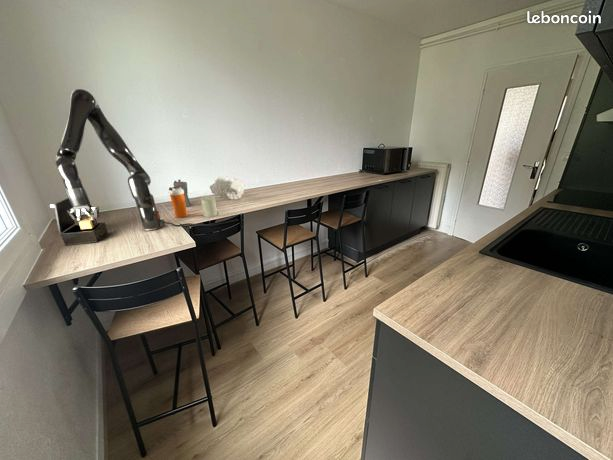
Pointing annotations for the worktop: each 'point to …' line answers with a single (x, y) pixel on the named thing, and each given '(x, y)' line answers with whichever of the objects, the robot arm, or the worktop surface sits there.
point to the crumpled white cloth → (227, 187)
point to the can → (209, 206)
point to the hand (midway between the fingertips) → (89, 226)
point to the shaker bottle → (178, 201)
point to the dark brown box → (84, 234)
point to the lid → (63, 215)
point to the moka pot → (184, 187)
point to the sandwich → (86, 223)
